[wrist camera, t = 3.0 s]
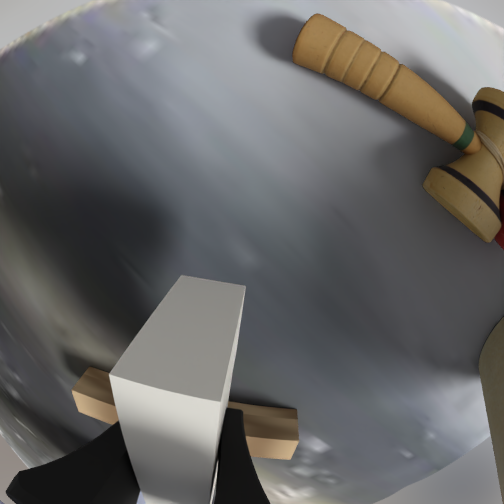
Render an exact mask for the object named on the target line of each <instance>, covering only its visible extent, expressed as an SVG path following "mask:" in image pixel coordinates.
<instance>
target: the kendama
mask: <svg viewBox="0 0 504 504" xmlns="http://www.w3.org/2000/svg"><path fill="white" fill-rule="evenodd" d="M292 58H293V62H294V63H295V64H298V65H300V66H303V67H306V68H309V69H311V70H314V71H316V72H319V73H321V74H323V73H325V74H326V75H327V76H328V77H330V78H333V79H335V80H337V81H339V82H343V83H344V84H346V85H348V86H350V87H352V88H354V89H356V90H360V91H361V92H362V93H363V94H365V95H367V96H369V97H370V98H373V99H375V100H379V102H380V103H382V104H383V105H385V106H386V107H388V108H390V109H392V110H393V111H395V112H397V113H398V114H400V115H402V116H403V117H405V118H407V119H408V120H410V121H412V122H413V123H415V124H417V125H419V126H420V127H422V128H424V129H425V130H427V131H429V132H431V133H432V134H434V135H436V136H438V137H439V138H441V139H442V140H444V141H446V142H447V143H449V144H450V145H452V146H453V147H455V148H457V149H458V150H460V151H461V152H463V153H464V155H463V156H462V157H460V158H459V159H458V160H456V161H454V162H452V163H450V164H448V165H445V166H440V167H433V168H431V170H430V172H429V174H428V175H427V177H426V179H425V181H424V182H423V184H422V185H423V188H424V189H425V191H426V192H428V193H429V194H430V195H431V196H432V197H433V198H434V199H435V200H436V201H437V202H439V203H440V204H441V205H442V206H443V207H444V208H446V209H447V210H448V211H449V212H450V213H451V214H452V215H453V216H455V217H456V218H457V219H458V220H459V221H461V222H462V223H463V224H464V225H465V226H466V227H467V228H469V229H470V230H471V231H472V232H473V233H474V234H476V235H477V236H478V237H479V238H480V239H482V240H483V241H485V242H487V243H490V242H491V241H492V240H493V238H494V239H495V240H496V242H497V243H498V244H499V246H500V247H501V248H502V249H503V250H504V92H502V91H501V90H498V89H495V88H490V87H485V88H481V89H480V90H479V91H478V93H477V94H476V96H475V98H474V99H473V102H472V108H473V112H474V115H475V119H476V130H475V131H474V130H472V128H471V127H470V126H469V125H468V123H467V122H466V121H465V120H464V119H463V118H462V117H461V116H460V114H459V113H458V112H457V111H456V110H455V109H454V108H453V107H452V106H451V105H450V104H449V103H448V102H447V101H446V100H445V99H444V98H443V97H442V96H441V95H440V94H439V93H438V92H437V91H436V90H435V89H433V88H432V87H431V86H430V85H429V84H428V83H427V82H425V81H424V80H423V79H422V78H420V77H419V76H418V75H417V74H415V73H414V72H413V71H411V70H410V69H409V68H407V67H406V66H405V65H403V64H399V62H398V61H397V60H396V59H395V58H393V57H392V56H390V55H389V54H387V53H385V52H382V51H381V49H380V48H378V47H376V46H375V45H373V44H372V43H370V42H368V41H366V40H365V39H364V38H362V37H360V36H359V35H357V34H355V33H354V32H352V31H347V30H346V28H345V27H343V26H342V25H340V24H338V23H336V22H335V21H333V20H331V19H329V18H327V17H325V16H324V15H321V14H314V15H313V16H311V17H310V18H309V20H308V21H306V23H305V24H304V26H303V28H302V29H301V31H300V33H299V35H298V37H297V39H296V42H295V45H294V49H293V53H292Z"/></svg>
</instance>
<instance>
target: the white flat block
mask: <svg viewBox="0 0 504 504" xmlns="http://www.w3.org/2000/svg"><path fill="white" fill-rule="evenodd" d="M245 288H246V286H243V285H237V284H231V283H225V282H219V281H213V280H207V279H201V278H195V277H190V276H184V275H181V276H180V278H179V279H178V280H177V281H176V283H175V284H174V285H173V287H172V288H171V289H170V291H169V292H168V293H167V295H166V296H165V297H164V299H163V300H162V301H161V303H160V304H159V305H158V307H157V308H156V309H155V311H154V312H153V313H152V315H151V316H150V317H149V319H148V320H147V322H146V323H145V324H144V326H143V327H142V328H141V330H140V331H139V333H138V334H137V335H136V337H135V338H134V339H133V341H132V342H131V344H130V345H129V346H128V348H127V349H126V351H125V352H124V353H123V355H122V356H121V358H120V359H119V360H118V362H117V363H116V365H115V366H114V368H113V369H112V370H111V372H110V373H109V377H110V382H111V387H112V392H113V397H114V401H115V406H116V410H117V414H118V418H119V422H120V426H121V430H122V433H123V437H124V441H125V444H126V447H127V451H128V454H129V457H130V461H131V464H132V467H133V470H134V473H135V476H136V478H137V481H138V484H139V487H140V489H141V492H142V495H143V497H144V500H145V502H146V504H212V499H213V493H214V488H215V482H216V477H217V468H218V456H219V448H220V441H221V433H222V426H223V421H224V416H225V411H226V407H227V406H228V399H229V392H230V385H231V378H232V371H233V366H234V360H235V355H236V349H237V343H238V336H239V329H240V322H241V315H242V309H243V302H244V295H245Z"/></svg>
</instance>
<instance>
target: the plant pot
mask: <svg viewBox="0 0 504 504" xmlns="http://www.w3.org/2000/svg"><path fill="white" fill-rule="evenodd" d="M479 373H480V379H481V384H482V389H483V395H484V401H485V406H486V412H487V417H488V422H489V428H490V434H491V438H492V444H493V450H494V455H495V460H496V466H497V472H498V478H499V484H500V489H501V495H502V501H503V504H504V317H503V318H502V319H501V320H500V321H499V323H498V324H497V325H496V326H495V328H494V329H493V330H492V332H491V333H490V335H489V337H488V338H487V340H486V342H485V344H484V346H483V349H482V351H481V354H480V358H479Z"/></svg>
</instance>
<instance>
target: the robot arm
mask: <svg viewBox="0 0 504 504" xmlns="http://www.w3.org/2000/svg"><path fill="white" fill-rule="evenodd" d="M6 494H7V496H8V497H9V498H10V499H12V501H14V502H15V503H16V504H146V502H145V500H144V497H143V495H142V492H141V489H140V487H139V484H138V481H137V478H136V476H135V473H134V470H133V467H132V464H131V461H130V457H129V454H128V451H127V447H126V444H125V441H124V437H123V433H122V430H121V426H120V422H119V420H118V421H117V422H116V423H115V424H113V425H112V426H111V427H110V428H108V429H107V430H106V431H105V432H103V433H102V434H101V435H99V436H98V437H97V438H95V439H94V440H92V441H91V442H89V443H88V444H86V445H85V446H83V447H81V448H79V449H78V450H76V451H74V452H72V453H70V454H68V455H66V456H64V457H62V458H59V459H57V460H55V461H52V462H49V463H47V464H44V465H41V466H38V467H34V468H31V469H27V470H23V471H19V472H18V474H17V475H16V476H15V477H14V479H13V480H12V482H11V484H10V485H9V487H8V488H7V490H6ZM0 504H4V503H3V502H1V501H0ZM214 504H270V502H269V500H268V498H267V496H266V494H265V492H264V490H263V488H262V486H261V484H260V481H259V479H258V476H257V474H256V471H255V468H254V465H253V462H252V459H251V456H250V452H249V448H248V445H247V440H246V435H245V430H244V421H243V411H242V410H241V409H234V408H228V407H226V411H225V416H224V421H223V426H222V433H221V441H220V448H219V456H218V468H217V484H216V496H215V501H214Z"/></svg>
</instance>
